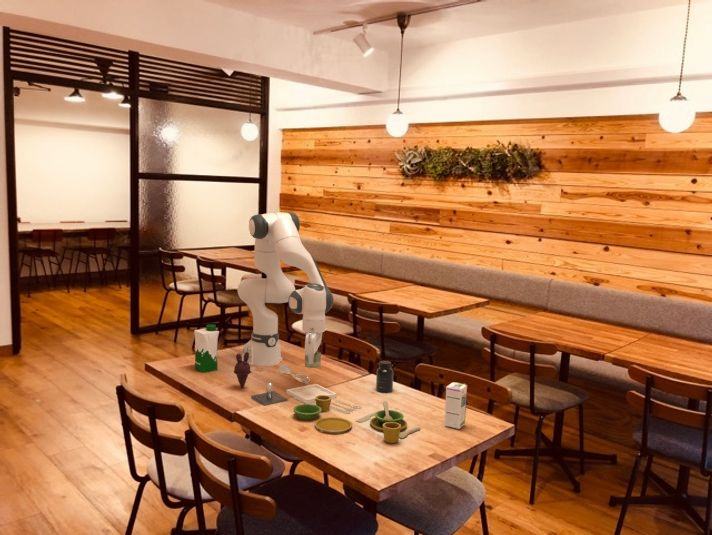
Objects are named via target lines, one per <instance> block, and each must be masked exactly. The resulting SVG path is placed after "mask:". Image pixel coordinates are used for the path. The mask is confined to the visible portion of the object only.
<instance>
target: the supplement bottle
mask: <svg viewBox="0 0 712 535" xmlns="http://www.w3.org/2000/svg"><path fill="white" fill-rule="evenodd" d="M378 365H379V367H378V368H377V369H376V378H375V381H376V382H375V383H376V384H375V389H376V391H377V392H379V393H382V394H390V393H392V392H393V390H394V389H393V388H394V369H393V368H392V362H391V361H389V360H380V361H379V364H378Z"/></svg>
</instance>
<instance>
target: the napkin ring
mask: <svg viewBox="0 0 712 535" xmlns="http://www.w3.org/2000/svg"><path fill="white" fill-rule="evenodd" d="M321 358H322V353H321V352H320V351H317V352H315V354H314V363H313V364H309V359H308V355H305V354H304V367H305V368H309V369H317V368H321V365H322V362H321V361H322V359H321Z"/></svg>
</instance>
